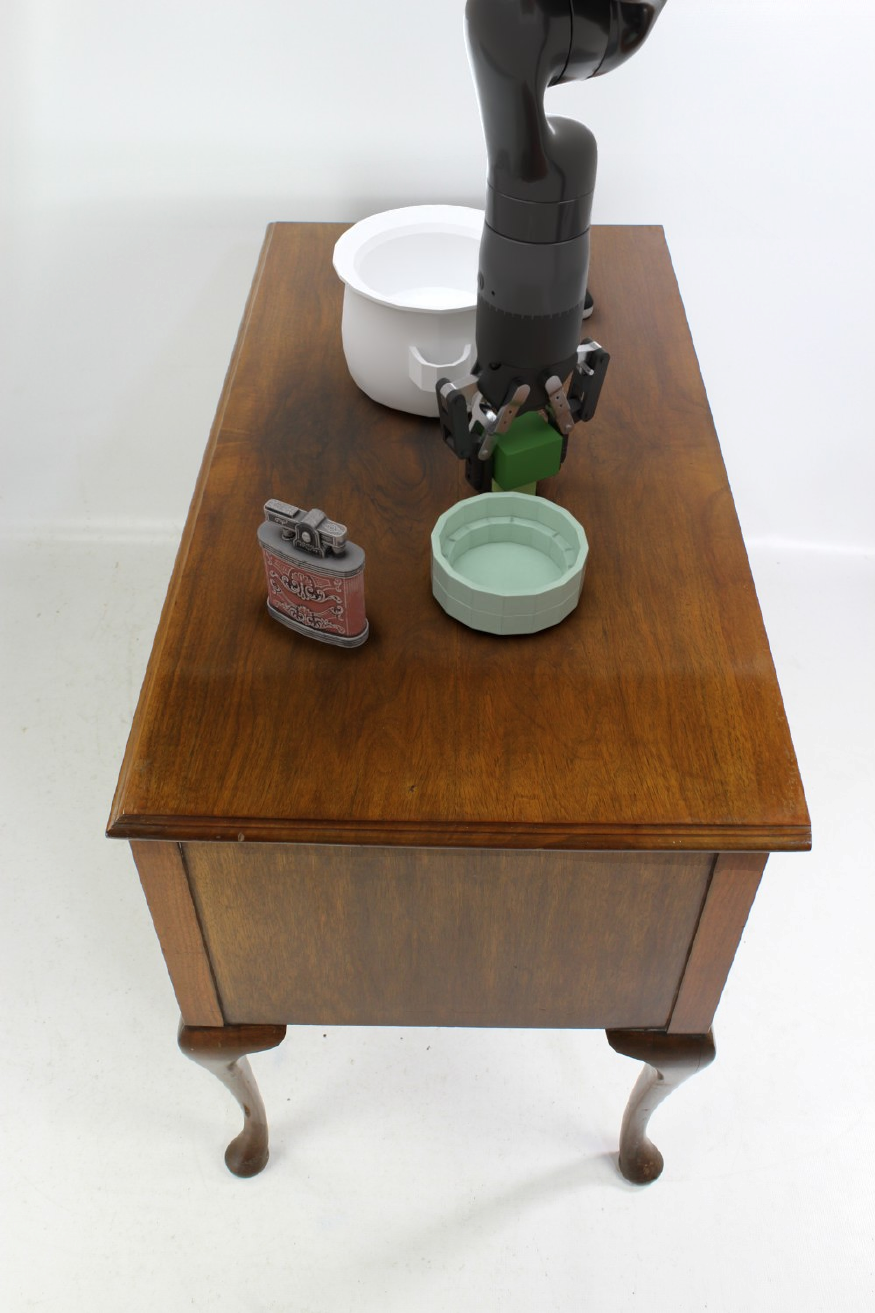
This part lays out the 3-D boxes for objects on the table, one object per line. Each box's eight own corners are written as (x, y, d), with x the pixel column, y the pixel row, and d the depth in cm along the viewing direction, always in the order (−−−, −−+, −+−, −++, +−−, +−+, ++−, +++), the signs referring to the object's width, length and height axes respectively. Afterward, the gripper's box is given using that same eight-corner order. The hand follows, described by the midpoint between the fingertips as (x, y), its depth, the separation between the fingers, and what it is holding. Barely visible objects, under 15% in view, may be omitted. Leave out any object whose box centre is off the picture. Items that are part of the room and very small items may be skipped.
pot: (347, 315, 106) (340, 192, 97) (520, 317, 106) (530, 195, 97) (334, 449, 91) (325, 320, 82) (536, 451, 91) (549, 322, 82)
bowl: (531, 520, 85) (536, 475, 82) (609, 609, 79) (618, 564, 75) (405, 563, 82) (405, 518, 78) (476, 660, 75) (479, 615, 72)
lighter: (377, 625, 77) (373, 518, 70) (353, 655, 75) (346, 549, 68) (284, 587, 80) (271, 481, 72) (258, 616, 78) (242, 509, 70)
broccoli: (523, 469, 90) (529, 403, 85) (555, 503, 87) (563, 437, 82) (471, 486, 88) (474, 420, 83) (501, 521, 85) (506, 455, 80)
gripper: (466, 333, 69) (458, 531, 82) (649, 284, 74) (615, 478, 86) (414, 281, 74) (414, 476, 86) (589, 238, 78) (566, 429, 91)
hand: (515, 476), depth 86 cm, fingers open, 6 cm apart
